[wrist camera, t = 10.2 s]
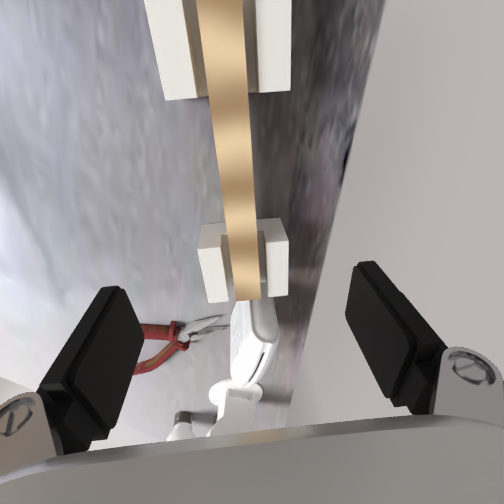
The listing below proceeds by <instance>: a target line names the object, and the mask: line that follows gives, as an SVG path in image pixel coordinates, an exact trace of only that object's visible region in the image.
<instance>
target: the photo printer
mask: <svg viewBox="0 0 504 504" xmlns="http://www.w3.org/2000/svg"><path fill="white" fill-rule="evenodd" d="M260 289H261V299H257V300H247V301H237V302H236V304H235V307H234V309H233V312H232V316H231V322H230V332H231V350H230V373H231V377H232V380H233V381H234V383H235V384H236V385H237V386H238V387H247V388H249V387H251V386H253V385H254V384H256V383H257V382H258V381H259V380H260V379H261V378H262V377H263V375H264V374H265V372H266V371H267V369H268V367H269V366H270V364H271V362H272V360H273V357H274V355H275V352H276V350H277V347H278V343H279V336H280V334H279V327H278V322H277V317H276V312H275V306H274V301H273V297H268V293H267V287H266V282H262V283H260Z"/></svg>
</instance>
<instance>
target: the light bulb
mask: <svg viewBox="0 0 504 504" xmlns="http://www.w3.org/2000/svg"><path fill="white" fill-rule="evenodd" d="M191 422H192V414H191V413H189V412H179V413H177V414H176V415H175V421H174V430H173V431H172V432H171V433H170V435H169V436H168V438H167V439H166V441H174V440H183V439H191V438H195V435H194V433H193V432H192V425H191Z"/></svg>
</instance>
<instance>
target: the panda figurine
mask: <svg viewBox="0 0 504 504" xmlns="http://www.w3.org/2000/svg"><path fill="white" fill-rule="evenodd" d="M262 395H263V391H262V388H261V386H260V385H259V384H258V383H256V384H254V385H253V386H251V387H249V388H247V387H238V386H237V385H236V384H235V383H234V381H233V380H232V379H227V380H223V381H221V382H218V383H217V384H215V385H214V386H213V387H212V388H211V389H210V391H209V399H210V401H211V402H212V403H213V404H214V405H216V406H218V414H217V415H215V416H214V418H213V425H214V426H213V427H212V428H211V429H210V431H209V432H208V433H207V435H206V436H205V437H209V436H217V435H226V434H235V433H244V432H253V431H261V430H260V429H259V427H258V426H257V425H256V415H255V403H257V402H258V401H259V400H260V399H261V397H262ZM216 419H217V422H216Z"/></svg>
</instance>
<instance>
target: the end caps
mask: <svg viewBox="0 0 504 504" xmlns="http://www.w3.org/2000/svg"><path fill="white" fill-rule="evenodd" d="M144 3H145V8H146V12H147V17H148V22H149V26H150V31H151V36H152V40H153V45H154V50H155V54H156V59H157V64H158V68H159V73H160V78H161V82H162V87H163V92H164V96H165V100H176V99H189V98H198V97H202V96H209V94H208V87H207V79H206V72H205V64H204V57H203V49H202V42H201V35H200V27H199V20H198V12H197V5H196V0H144ZM242 8H243V23H244V39H245V54H246V70H247V86H248V93H252V92H258V93H264V92H276V91H289V90H290V84H291V0H242ZM256 226H257V242H258V257H259V273H260V283H262V282H266V287H267V293H268V297H276V296H286V295H288V252H289V240H288V238H287V235H286V232H285V230H284V227H283V224H282V222H281V219H280V217H279V218H268V219H257V220H256ZM197 250H198V255H199V259H200V264H201V269H202V273H203V278H204V283H205V287H206V292H207V297H208V301H209V303H215V302H225V301H229V286H231V285H234V279H233V272H232V265H231V257H230V250H229V242H228V235H227V227H226V222H225V223H214V224H203V225H202V229H201V234H200V239H199V243H198V248H197Z"/></svg>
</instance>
